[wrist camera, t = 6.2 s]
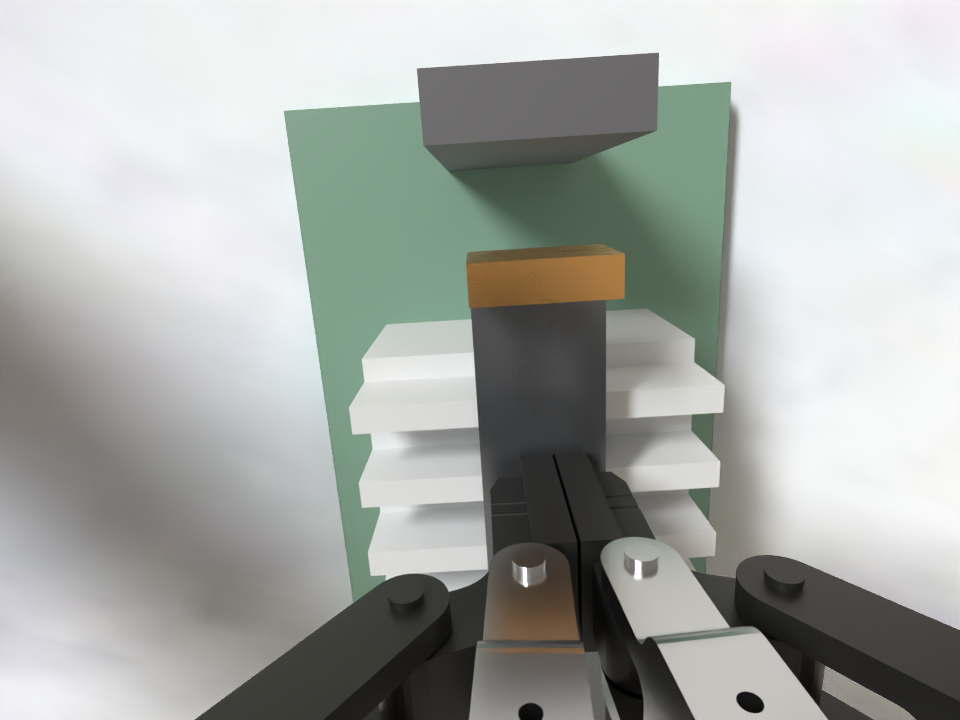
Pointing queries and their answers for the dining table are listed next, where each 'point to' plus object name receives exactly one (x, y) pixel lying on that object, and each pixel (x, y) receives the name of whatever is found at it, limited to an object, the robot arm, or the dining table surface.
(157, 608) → the dining table surface
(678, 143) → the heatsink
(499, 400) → the wood-capped grey post
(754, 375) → the dining table surface
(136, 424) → the dining table surface
